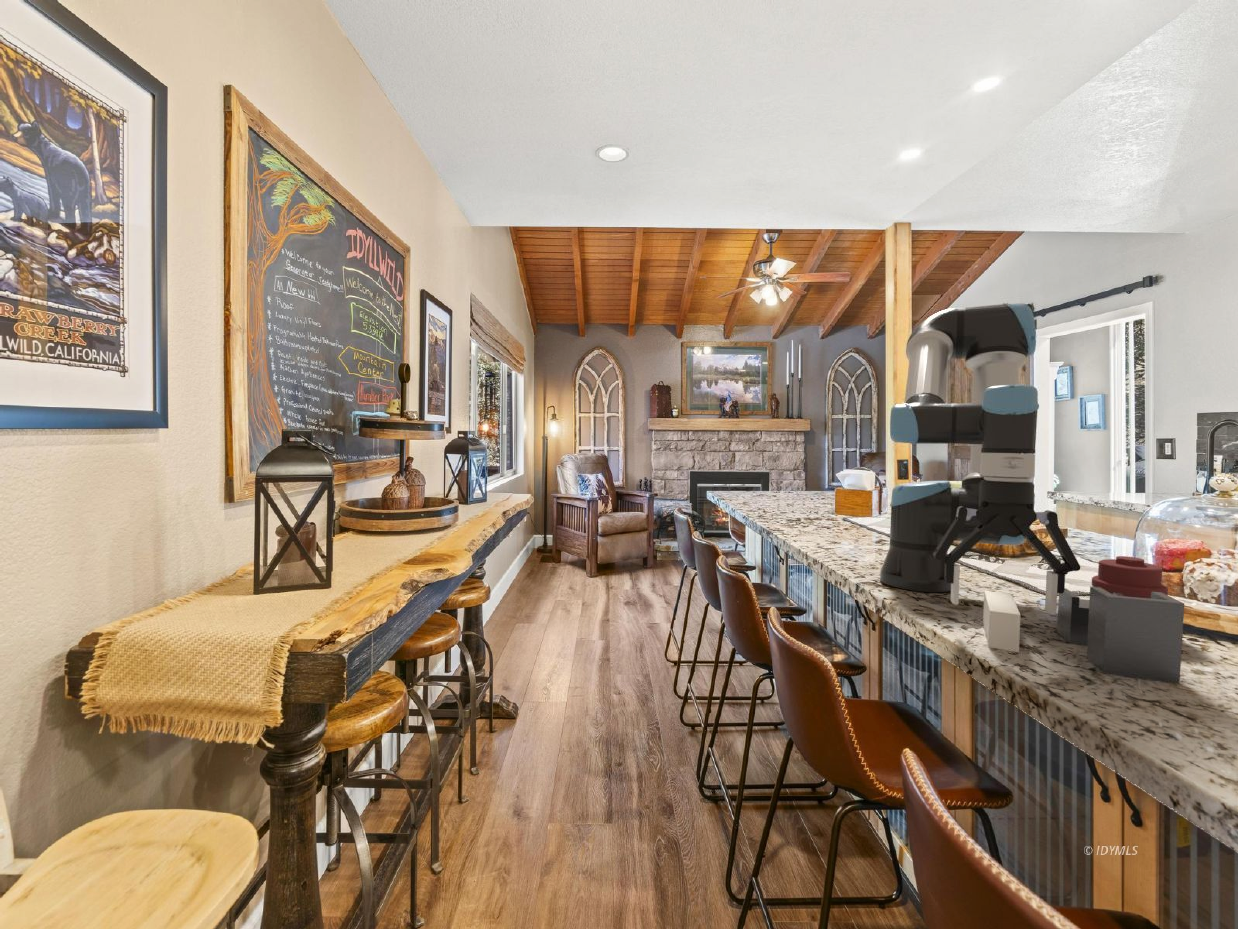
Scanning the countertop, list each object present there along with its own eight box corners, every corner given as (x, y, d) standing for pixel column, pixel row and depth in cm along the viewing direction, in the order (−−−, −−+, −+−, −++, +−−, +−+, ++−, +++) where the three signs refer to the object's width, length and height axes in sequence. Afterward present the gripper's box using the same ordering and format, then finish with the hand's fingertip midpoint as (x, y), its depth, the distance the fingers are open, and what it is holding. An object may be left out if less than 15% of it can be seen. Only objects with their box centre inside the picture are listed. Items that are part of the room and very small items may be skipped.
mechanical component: (1139, 621, 105) (1180, 639, 96) (1077, 617, 107) (1111, 635, 98) (1143, 554, 105) (1185, 566, 95) (1080, 551, 107) (1115, 562, 97)
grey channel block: (1057, 631, 99) (1059, 587, 99) (1118, 638, 96) (1120, 593, 96) (1069, 643, 93) (1072, 596, 93) (1134, 650, 90) (1137, 602, 90)
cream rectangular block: (982, 623, 104) (984, 590, 103) (1009, 627, 102) (1011, 593, 101) (988, 648, 91) (989, 610, 91) (1018, 653, 90) (1020, 614, 89)
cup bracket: (1086, 658, 87) (1090, 586, 86) (1157, 667, 84) (1161, 592, 83) (1103, 673, 81) (1107, 596, 81) (1179, 683, 78) (1184, 603, 78)
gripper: (924, 477, 96) (919, 604, 97) (1110, 484, 87) (1103, 623, 88) (919, 475, 103) (914, 593, 104) (1090, 481, 94) (1084, 610, 95)
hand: (1001, 607), depth 96 cm, fingers open, 13 cm apart
